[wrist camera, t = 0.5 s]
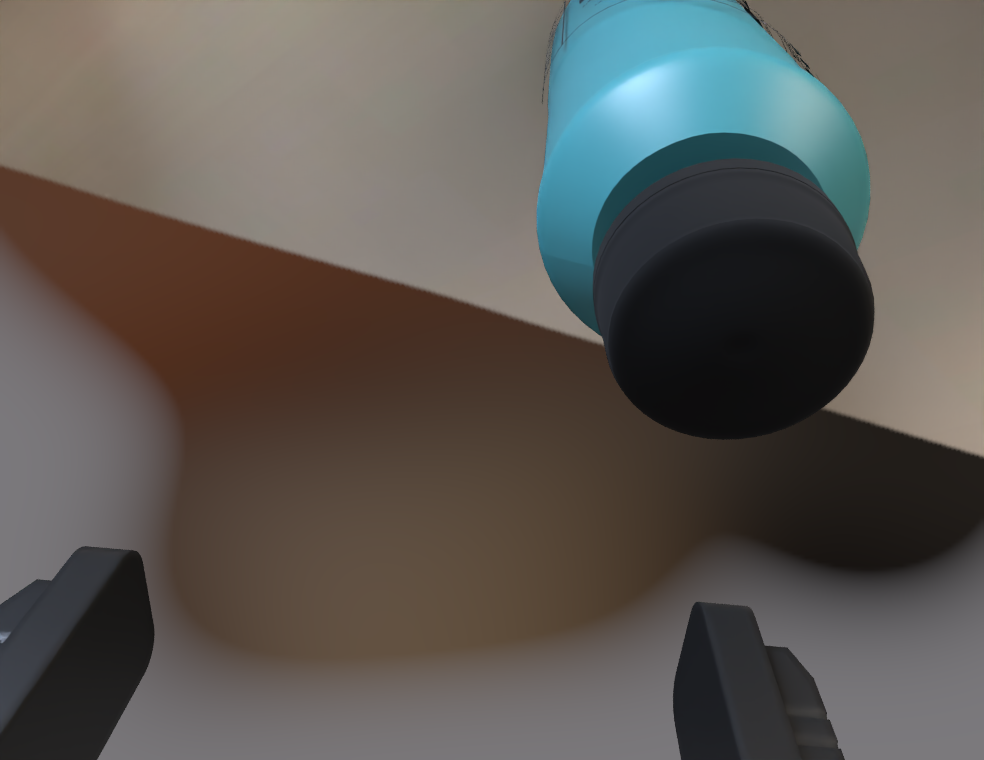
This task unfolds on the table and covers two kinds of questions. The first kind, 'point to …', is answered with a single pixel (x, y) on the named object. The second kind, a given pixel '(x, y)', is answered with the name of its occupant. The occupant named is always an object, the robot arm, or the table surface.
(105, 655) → the robot arm
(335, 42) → the table surface
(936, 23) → the table surface
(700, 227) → the beverage bottle
